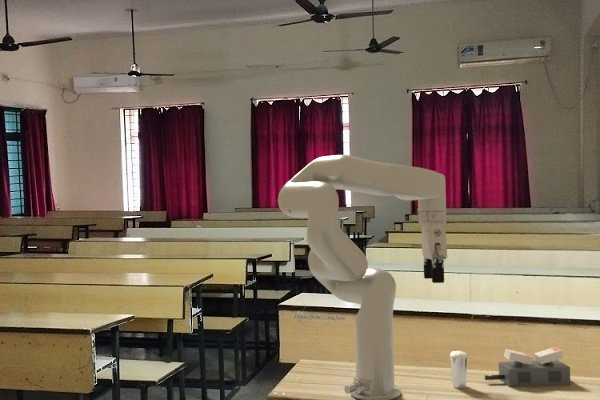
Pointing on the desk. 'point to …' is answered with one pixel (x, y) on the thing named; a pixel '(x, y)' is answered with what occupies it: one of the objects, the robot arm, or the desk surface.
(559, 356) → the rocker
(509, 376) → the rocker switch panel
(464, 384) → the milkshake
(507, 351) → the rocker
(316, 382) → the desk surface
